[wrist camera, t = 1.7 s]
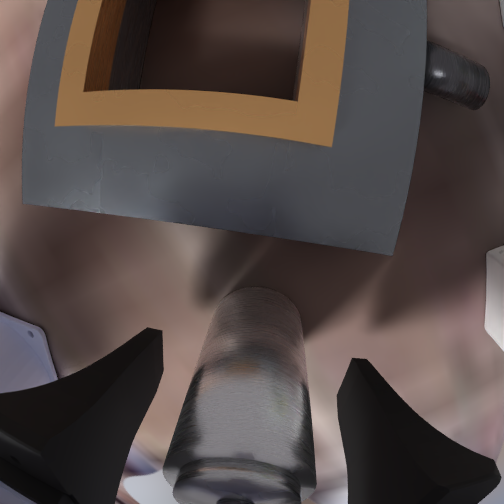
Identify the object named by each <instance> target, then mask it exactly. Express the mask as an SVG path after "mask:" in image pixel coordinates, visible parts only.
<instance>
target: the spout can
mask: <svg viewBox="0 0 504 504" xmlns="http://www.w3.org/2000/svg"><path fill="white" fill-rule="evenodd" d="M163 475H164V477H165V479H166V481H167V482H168V483H169V484H170V486H172V487H173V496H174V498H175V499H176V501H177V502H178V503H179V504H301V502H302V501H304V500H305V499H307V498H308V497H309V496H310V495H311V494H312V493H313V492H314V490H315V488H316V484H317V483H316V468H315V454H314V442H313V430H312V418H311V407H310V397H309V387H308V377H307V368H306V358H305V349H304V341H303V332H302V324H301V317H300V314H299V312H298V310H297V308H296V306H295V305H294V304H293V303H292V301H291V300H290V299H288V298H287V297H286V296H284V295H283V294H281V293H279V292H277V291H275V290H272V289H269V288H264V287H247V288H242V289H239V290H236V291H234V292H232V293H230V294H228V295H227V296H226V297H224V298H223V299H222V300H221V301H220V303H219V304H218V305H217V307H216V309H215V311H214V314H213V317H212V320H211V323H210V326H209V329H208V332H207V335H206V338H205V341H204V344H203V347H202V350H201V353H200V356H199V359H198V362H197V365H196V368H195V371H194V374H193V377H192V380H191V383H190V386H189V389H188V392H187V395H186V398H185V401H184V404H183V407H182V410H181V413H180V416H179V419H178V422H177V425H176V428H175V431H174V435H173V438H172V441H171V444H170V447H169V450H168V453H167V456H166V459H165V463H164V466H163Z"/></svg>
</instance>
